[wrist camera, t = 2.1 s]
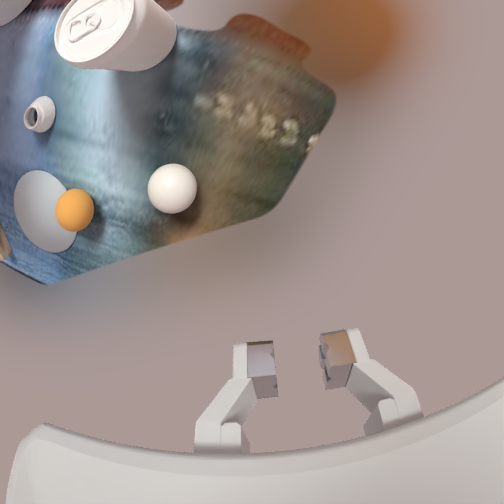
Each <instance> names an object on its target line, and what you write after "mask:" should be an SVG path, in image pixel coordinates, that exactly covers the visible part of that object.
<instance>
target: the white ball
mask: <svg viewBox="0 0 504 504" xmlns="http://www.w3.org/2000/svg"><path fill="white" fill-rule="evenodd" d="M196 193H197V183H196V179H195V177H194V175H193V174H192V172H191V171H190V170H189V169H187V168H186V167H184V166H182V165H179V164H167V165H164V166H162V167H160V168H158V169H157V170H156V171H155V172H154V173H153V175H152V176H151V178H150V180H149V183H148V196H149V199H150V201H151V203H152V204H153V205H154V206H155V207H156V208H157V209H158V210H160V211H162V212H165V213H178V212H181V211H183V210H185V209H186V208H188V207H189V206H190V205H191V204H192V202H193V201H194V199H195V196H196Z"/></svg>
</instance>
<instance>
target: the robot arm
mask: <svg viewBox="0 0 504 504" xmlns="http://www.w3.org/2000/svg"><path fill="white" fill-rule="evenodd" d="M31 1H32V0H0V26H3V25H5V24H7V23H9V22H10V21H12V20H13V19H14V18H16V17H17V16H18V15H19V14H20V13H21V12H22V11H23V10H24V9H25V8H26V7H27V6H28V5H29V3H30V2H31ZM320 343H321V345H320V346H319V360H320V366H321V368H322V369H324V371H323V380H324V384H325V389H326V390H327V389H334V388H340V387H346V388H347V389H348V390H349V391H350V392H351V393H352V394H353V395H354V396H355V397H356V398H357V399H358V400H359V401H360V402H361V403H362V404H363V405H364V406H365V407H366V408H367V409H368V410H369V411H370V412H371V413H372V414H371V416H370V417H369V419H368V420H367V422H366V423H365V425H364V430H365V434H366V436H364V437H359V438H355V439H351V440H347V441H342V442H337V443H332V444H327V445H322V446H316V447H310V448H303V449H296V450H286V451H276V452H264V453H250V444H249V441H248V439H247V437H246V435H245V433H244V431H243V429H242V425H243V423H244V422H245V420H246V418H247V417H248V415H249V413H250V412H251V410H252V408H253V407H254V405H255V403H256V402H257V399H260V398H269V397H277V396H278V390H277V377H276V367H275V358H274V348H273V341H260V342H245V343H235V344H234V347H233V379H229V380H228V381H227V383H226V384H225V385H224V387H223V388H222V389H221V391H220V392H219V393H218V394H217V396H216V397H215V398H214V400H213V401H212V402H211V404H210V405H209V406H208V407H207V409H206V410H205V411H204V412H203V414H202V415H201V416H200V418H199V419H198V420H197V421H196V431H195V442H194V453H188V452H175V451H166V450H157V449H150V448H143V447H137V446H131V445H126V444H120V443H116V442H111V441H107V440H102V439H98V438H94V437H90V436H86V435H83V434H79V433H76V432H72V431H70V430H66V429H63V428H60V427H57V426H55V425H52V424H49V423H42V424H40V425H38V426H37V427H36V428H35V429H33V430H32V431H31V432H30V433H28V434H27V435H26V436H25V437H24V438H23V439H22V441H21V443H20V445H19V447H18V449H17V452H16V455H15V459H14V462H13V466H12V470H11V474H10V478H9V484H8V489H7V497H6V504H504V377H503V378H501V379H499V380H498V381H496V382H494V383H493V384H491V385H490V386H488V387H486V388H484V389H482V390H481V391H479V392H477V393H475V394H473V395H471V396H469V397H467V398H465V399H463V400H462V401H459V402H457V403H455V404H453V405H451V406H449V407H446V408H444V409H442V410H440V411H438V412H435V413H433V414H430V415H428V416H425V417H424V415H423V413H422V410H421V407H420V404H419V401H418V398H417V396H416V393H415V390H414V389H413V388H411V387H410V386H409V385H407V384H406V383H405V382H403V381H402V380H401V379H399V378H398V377H397V376H395V375H394V374H392V373H391V372H390V371H389V370H387V369H386V368H385V367H383V366H382V365H381V364H379V363H378V362H377V361H375V360H374V359H371V360H370V358H369V356H368V353H367V350H366V347H365V344H364V342H363V339H362V336H361V334H360V331H359V329H358V328H351V329H346V330H338V331H333V332H328V333H322V334H320Z"/></svg>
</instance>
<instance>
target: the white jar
mask: <svg viewBox="0 0 504 504" xmlns="http://www.w3.org/2000/svg"><path fill="white" fill-rule="evenodd" d="M35 109H36V111H37V114H38V119H37V122H36V123H35V120H34V111H35ZM54 118H55V106H54V102H53V101H52V100H51V99H50V98H49V97H47V96H43V97H38V98H37V99H36V100H35V101H34V102H33V103H32V104H31V105H30V106H29V108H27V110H26V111H25V113H24V124H25V126H26V127H27V128H28V129H31V130H33V131H36V132H38V133H40V132H45V131H46V130H48V129H49V128H50V127H51V125H52V124H53V122H54Z"/></svg>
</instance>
